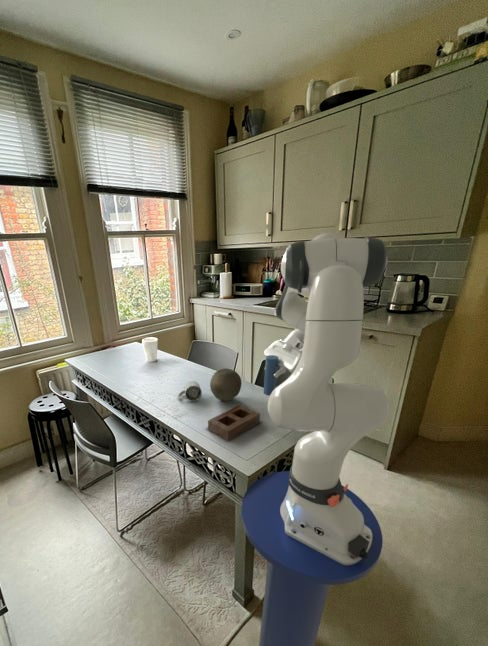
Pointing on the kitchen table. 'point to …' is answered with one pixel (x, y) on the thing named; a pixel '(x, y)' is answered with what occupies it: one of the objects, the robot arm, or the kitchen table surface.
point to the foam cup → (150, 348)
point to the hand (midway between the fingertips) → (270, 373)
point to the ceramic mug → (191, 391)
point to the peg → (270, 374)
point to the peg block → (233, 422)
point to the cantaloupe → (225, 384)
